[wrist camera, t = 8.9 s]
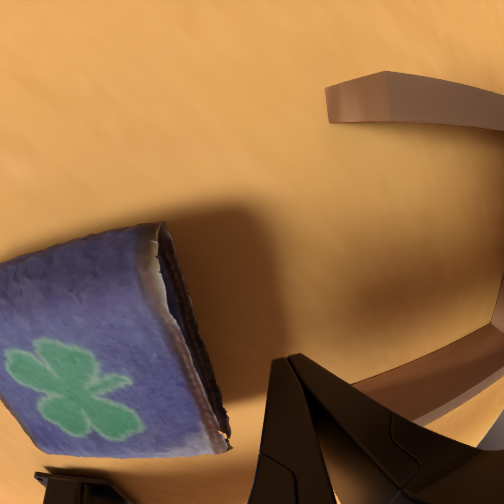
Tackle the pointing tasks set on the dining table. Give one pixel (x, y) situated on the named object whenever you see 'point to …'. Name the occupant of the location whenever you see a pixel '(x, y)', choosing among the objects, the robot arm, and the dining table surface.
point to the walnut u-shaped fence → (500, 329)
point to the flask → (108, 350)
